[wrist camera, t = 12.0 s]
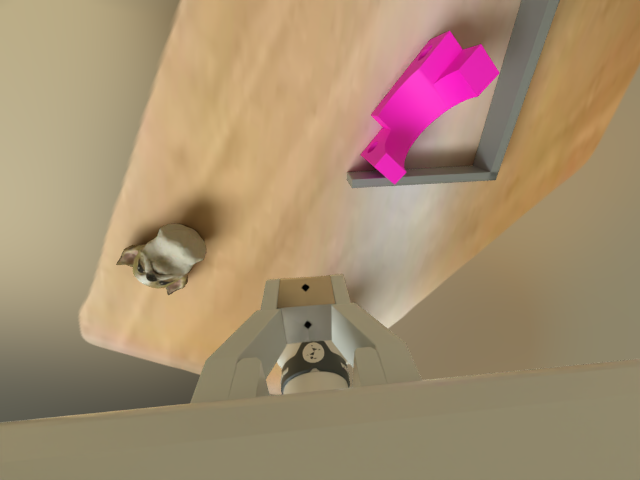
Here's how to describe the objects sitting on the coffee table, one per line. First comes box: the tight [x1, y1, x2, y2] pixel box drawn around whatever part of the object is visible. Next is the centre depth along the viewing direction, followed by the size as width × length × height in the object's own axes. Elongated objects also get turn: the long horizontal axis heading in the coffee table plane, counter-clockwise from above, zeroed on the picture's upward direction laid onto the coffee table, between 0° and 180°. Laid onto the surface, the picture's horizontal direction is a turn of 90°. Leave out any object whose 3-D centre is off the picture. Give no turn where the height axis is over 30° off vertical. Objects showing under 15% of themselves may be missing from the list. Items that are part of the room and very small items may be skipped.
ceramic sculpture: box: [116, 223, 206, 295], centre depth 37 cm, size 11×9×15 cm
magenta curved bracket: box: [361, 31, 499, 185], centre depth 29 cm, size 15×6×8 cm, turn 141°
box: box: [347, 0, 560, 188], centre depth 29 cm, size 26×21×4 cm
